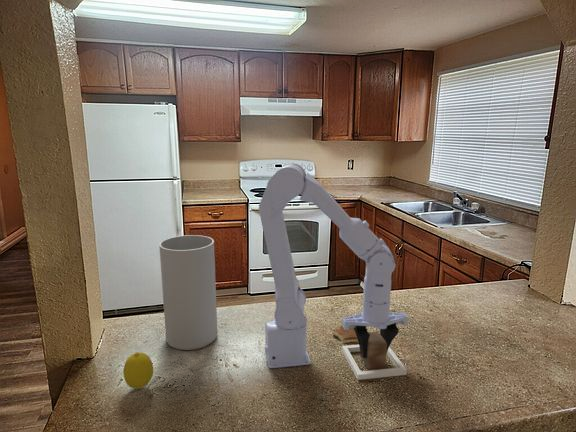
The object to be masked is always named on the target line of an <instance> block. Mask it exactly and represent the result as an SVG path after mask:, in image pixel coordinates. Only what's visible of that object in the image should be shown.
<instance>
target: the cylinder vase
mask: <svg viewBox="0 0 576 432" xmlns="http://www.w3.org/2000/svg"><path fill="white" fill-rule="evenodd" d="M158 247H159V257H160V258H159V259H160V271H161V272H160V273H161V275H160V276H161V288H162V301H163V315H164V326H165V327H164V329H165V340H166V342H167V344H168V345H169V346H170V347H171V348H174V349H176V350H181V351H192V350H197V349H202V348H204V347H206V346H209V345H210V344H211V343H213V342H214V340H216V338H217V336H218V316H217V315H218V314H217V313H218V312H217V288H216V287H217V286H216V264H215V263H216V262H215V260H216V259H215V240H214V239H213V238H212V237H210V236H205V235H199V234H196V235H195V234H194V235H193V234H190V235H189V234H186V235H179V236H178V235H177V236H173V237H169V238H166V239H164V240H162V241H161V242H159V245H158Z"/></svg>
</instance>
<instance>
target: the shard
mask: <svg viewBox="0 0 576 432" xmlns="http://www.w3.org/2000/svg"><path fill="white" fill-rule="evenodd" d="M367 332H368V333H369V331H367ZM331 335H333V336H335V337H337V338H338V339H339V340H340V342H341V343H342V344H347V343H348V344H349V343H359V342H358V339H357V336H356V333H355V331H354V329H353V328H349V330H345V329H344V328H343V326H342V324H341V325H339V326H338V327H337V328H335V329H334V330H332V331H331Z"/></svg>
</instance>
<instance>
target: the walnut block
mask: <svg viewBox="0 0 576 432" xmlns="http://www.w3.org/2000/svg"><path fill="white" fill-rule="evenodd" d="M368 332H369V331H368ZM369 334H370V337H369V340H368V345H367V357H366V358H363V357H362V355H361V353H360V352H359V354H360V356H359V357H360V359H361V361H362V362H363V364H365V365H364V366H365V367H366V368H367V371H370V370H380V369H386V365H387V354H386V353H387V343H386V341H385V340H384V339H383V337H382V336H381V335H380V331H372V332H369Z"/></svg>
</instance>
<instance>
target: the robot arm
mask: <svg viewBox="0 0 576 432" xmlns="http://www.w3.org/2000/svg"><path fill="white" fill-rule="evenodd" d="M299 195H300V198H299V201H301V202H306V203H307V202H308V203H312V204H314V205H315V206H316V207H317V208H318V209H320V211H321V212H322V213H324V215H325V216H326V217H327V218H328V219H329V220H330V221H331V222H332V223H334V224H335V225H336V227H338V228H339V235H338V236H339V238H340V239H341V240H342V242H344V244H346V245H347V247H349V249H350V250H351V251H352V252H353V253H354V254H355V255H356V256H357V257H358V258H359V259H360V260H363V261H364V262H365V274H364V279H363V296H362V312H361V313H356V314H353V315H350V316H346V317H345V316H344V317H342V318H341V319H342V321H341V325H342V326H343V328H344V329H345V330H349V328H353V329H354V331H355V333H356V336H357V339H358V342H357V343H358V345H359V347H360V351H359V354H360V353H361V355H362V357H363V358H366V357H367V345H368V340H369V337H370V334H369V333H368V332H369V331H368V328H367V327H371V328H376V329H377V330H379V333H380V335H381V336H382V337H383V339H384V340H385V341H386V343H387V351H388V348H389V347H390V346H391V344H392V342H393V340H394V339H395V338H396V337H397V335H398V334H399V328H398V326H397V325H403V326H408V322H409V316H408V315H407V314H406V313H405V312H391V311H390V306H391V294H392V293H391V292H392V291H391V290H392V273H393V272H394V271H395V269H396V266H397V265H396V263H395V258H394V256H393V253H392V251H391V250H390V248H389V247H388V246H387V243H386V242H385V241H384V239H382V238H381V237H380V238H379V237H377V235H376V234H375V233H374V232H373V231H372V230H371V229H370V228H369V227H370V223H368V221H367V220H363V221H362V219H361V218H359V217H350V215H348V213H347V212H346V211H345V209H344V208H342V206H341V205H340V204H339V203H338V202H337V201H336V200H335V199H334V197H333V196H332V195H331V194H330V193H329V192H328V190H327V189H326V188H325V187H324V186H323V185H322V184H321V183H320V182H319V181H318V180H317V179H316V178H315V177H314V176H313V175H312V174H310V173H309V172H307V173H306V170H305V169H304V167H302V166H301V165H300V164H298V163H294V162H291V163H286V164H284V165H283V166H282V167H280V168H279V169H277V171H276V172H275V173H274V174H272V176H271V177H270V178H269V179H268V181H267V183H266V187H265V190H264V192H263V194H262V197H261V200H260V203H259V204H258V213H259V217H260V221H261V226H262V230H263V236H264V240H265V244H266V249H267V255H268V258H269V262H270V269H271V272H272V277H273V282H274V287H275V288H274V289H275V291H274V294H275V295H274V296H275V297H274V298H275V305H276V306H275V310H274V319H273V320H271V321H267V322H265V325H264V327H265V328H264V329H265V330H264V331H265V333H264V334H265V336H264V337H265V344H264V353H265V355H266V360H267V361H266V362H267V367H268V368H269V369H275V368H276V369H277V368H287V367H297V366H298V367H299V366H307V365H311V364H312V361H311V359H310V357H309V354H308V350H307V333H308V331H307V328H308V327H307V326H308V324H307V323H308V319H307V317H306V315H305V314H304V313H305V305H306V303H307V296H306V294H305V291H304V290H303V289H302V287H301V286H300V283H299V279H298V278H297V275H296V270H295V266H294V259H293V256H292V252H291V251H292V250H291V246H290V241H289V236H288V232H287V226H286V222H285V217H284V216H285V215H284V212H283V211H284V209H285V207H286V206H287V205H288V204H289V203H290V202H291V201H293V200H294V199H295V198H297V197H299ZM386 355H387V353H386Z"/></svg>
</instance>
